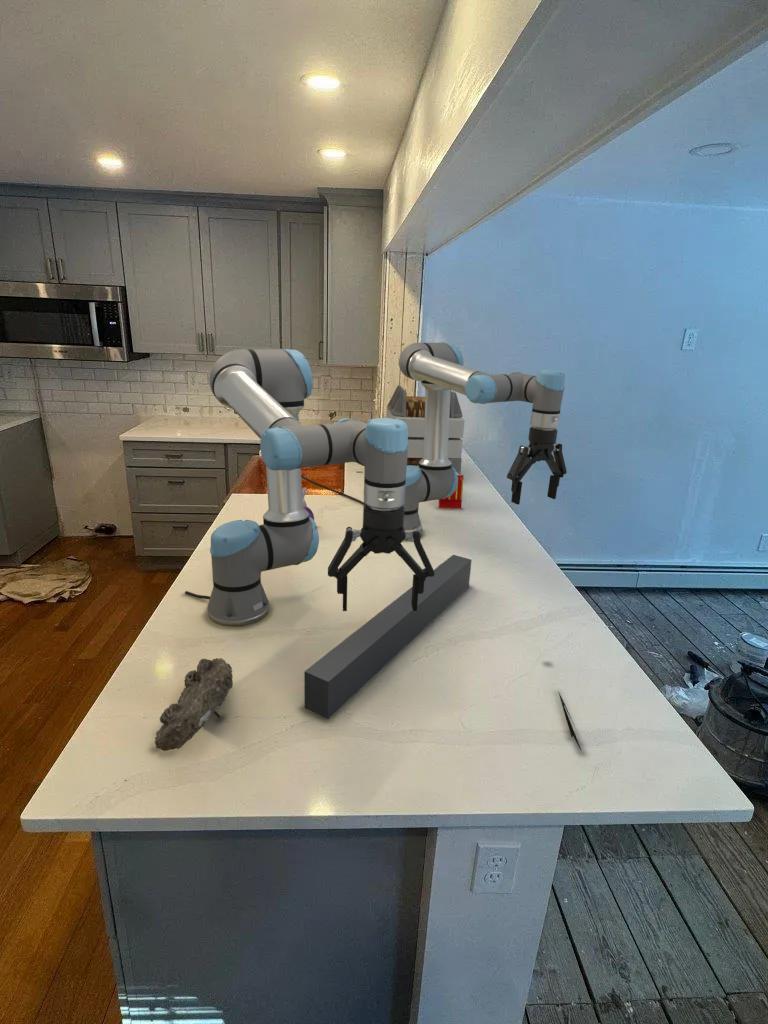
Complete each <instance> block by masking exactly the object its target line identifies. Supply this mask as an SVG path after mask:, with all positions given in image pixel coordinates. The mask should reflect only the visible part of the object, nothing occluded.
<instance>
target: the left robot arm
mask: <svg viewBox="0 0 768 1024" xmlns="http://www.w3.org/2000/svg"><path fill="white" fill-rule="evenodd" d="M211 367H212V368H211V370H210V371H209V377H208V380H209V381H208V382H209V387H210V390H211V392H212V395H213V396H214V397H215V398H216V400H217V402H219V403H220V404H221V405H222V406H223V407H226V408H229V409H232V410H233V412H235V413H236V414H237V415H238V417H239V418H240V419H241V420H242V421H243V422H244V423H245V424H246V425H247V426H248V428H250V429H251V431H252V432H253V433H254V434H255V435H256V437H258V438H259V440H260V441H259V442H260V443H259V447H260V453H261V458H262V459H263V463H264V465H265V470H266V484H267V485H266V487H267V489H266V490H267V503H268V505H267V506H268V509H267V510H266V511H265V512H264V514H263V516H262V520H263V523H262V524H258V522H256V521H254V520H253V519H252V520H251V519H245V520H243V519H236V520H231V521H228V522H225V523H223V524H221V525H219V526H217V527H216V528H215V530H213V531H212V533H211V535H210V548H209V552H210V556H211V557H210V558H211V571H212V584H213V586H212V590H211V593H210V595H202V594H197V593H193V592H191V591H187V590H185V591H184V594H185V595H187V596H189V597H193V598H197V599H203V600H208V603H207V608H206V609H207V612H206V613H207V617H208V619H209V620H210V621H211V622H212V623H214V624H216V625H219V626H222V627H230V628H237V627H239V628H240V627H246V626H251V625H253V624H256V623H258V622H260V621H262V620H263V619H265V618H266V617H267V615H268V614H269V613H270V612H269V611H270V602H269V599H268V596H267V594H266V591H265V589H264V587H263V584H262V572H267V571H271V570H276V569H280V568H285V567H290V566H298V565H301V564H302V563H306V562H309V561H312V559H313V558H314V557H315V556H316V554H317V552H318V549H319V544H320V535H319V529H318V526H317V522H316V521H315V519H314V520H313V519H312V518H310V517H309V513H308V512H307V511H306V510H305V509H304V508H303V502H302V489H303V483H302V481H303V480H302V477H301V475H302V469H305V468H306V469H307V468H313V467H321V466H331V465H338V464H348V463H355V464H358V465H360V466H363V467H364V470H363V471H364V473H363V474H364V475H363V476H364V477H363V502H364V503H365V505H363V508H362V509H363V513H362V527H361V529H353V528H352V527H351V526H347V527H346V528H345V532H344V533H345V534H344V538H343V540H342V541H341V543H340V545H339V547H338V548H337V551H336V553H335V554H334V556H333V557H332V559H331V562H330V563H329V565H328V566H327V576H328V577H329V578H332V577H333V578H335V579H336V593H337V594H338V595H342V612H347V611H348V575H349V573H350V572H351V571H352V570H354V568H355V567H356V566H357V565H358V564H359V563H360V562H361V561H362V560H363V559H364V557H367V556H368V555H369V554H370V553H371V552H372V553H373V554H374V555H375V554H382V553H383V554H387V555H389V554H391V553H393V552H395V553H396V554H397V556H398V557H400V558H401V559H402V560H403V562H404V563H405V564H406V565H407V566H408V568H409V569H410V570H411V571H412V572H413V573H414V574H413V575H412V586H411V587H412V602H411V605H412V608H413V611H417V603H418V594H423V592H424V581H425V580H426V577H429V576H430V577H433V576H434V574H435V573H434V568H433V566H432V565H433V564H432V563H431V561H430V559H429V557H428V555H427V553H426V550H425V549H424V546H423V544H422V542H421V536H420V533H419V530H418V528H417V527H414V528H413V529H412V530H404V529H403V524H404V507H403V506H402V505H404V503H405V483H406V470H407V456H408V447H409V442H408V426H407V424H406V423H405V422H404V421H402V420H398V419H392V418H386V417H376V418H375V417H374V418H371V419H369V420H368V421H367V422H363V421H362V420H359V419H357V418H348V417H345V418H339V419H338V420H336V421H335V422H333V423H321V424H320V423H319V424H308V425H307V424H302V423H301V422H300V420H299V414H300V412H301V411H302V410H303V409H304V407H305V400H306V399H308V398H309V397H310V396H311V395H312V393H313V392H312V391H313V388H314V380H313V379H314V378H313V373H312V368H311V366H310V364H309V361H308V360H307V359H306V356H305V355H304V354H303V353H302V352H300V351H299V350H297V349H289V348H288V349H287V348H257V349H255V348H250V349H249V348H237V349H233V350H231V351H228V352H226V353H224V354H223V355H221V356H220V357H219V358H218V359H217V360H216V361H215V362H214V363H213V366H211ZM405 537H408V538H409V540H408V541H409V542H411V543H412V542H413V545H414V547H415V550H416V551H417V554H418V556H419V558H420V560H421V562H422V564H423V567H424V568H422V567H421V566H420V565H419V564H418V563H417V561H416V560H415V558H413V556H412V555H411V554H410V553H409V551H408V550H406V548H405V547H404V546H403V544H402V542H403V541H405V540H404V539H405ZM358 538H360V539H361V540H362V543H361V544H360V545H359V547H358V548H357V549H356V550H355V551H354V552H353V553H352V554H351V556H349V557H348V558H347V560H345V561H344V563H343V564H342V562H343V559H344V558H345V556H346V555H347V553H348V551H349V549H350V547H351V546H352V543H353V542H355V541H356V540H357V539H358ZM340 565H341V566H340Z"/></svg>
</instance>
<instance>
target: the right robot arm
mask: <svg viewBox="0 0 768 1024" xmlns="http://www.w3.org/2000/svg"><path fill="white" fill-rule="evenodd" d="M464 363H465V362H464V356H463V354H462V351H461V350H460V348H459V347H458V346H457V345H456V344H454V343H451V342H443V341H442V342H420V341H419V342H413V343H410V344H408V345H407V346H406V347H404V348H403V349H402V351H401V352H400V354H399V357H398V366H399V370H400V371H401V373H402V375H403V376H405V377H406V378H407V379H411V380H413V381H416V382H420V384H421V385H422V386H423V388H424V389H425V393H424V397H425V421H424V455H423V458H422V459H421V460H420V461H419V466H413V465H408V466H407V470H406V483H405V503H404V505H402V506H403V507H404V524H403V529H404V530H412V529H413V528H414V527H417V528H418V530H419V533H420V537H421V536H422V535H423V525H422V524H421V518H420V515H419V507H420V506H419V505H420V503H426V502H430V501H437V500H438V501H439V499H443V498H446V497H449V496H451V495H452V494H453V493H454V492H455V490H456V488H457V484H458V476H457V474H456V470H455V469H454V468H453V467H452V462H451V461H450V460H449V459H448V439H449V415H450V392H451V391H452V392H453V391H454V392H455V393H458V394H461V395H464V396H466V398H467V399H468V400H469V402H471V403H473V404H481V405H486V404H492V403H506V402H523V403H530V404H532V408H531V416H530V423H529V425H530V427H529V431H528V441H529V444H528V446H527V445H522V444H520V445H519V448H518V453H517V454H516V457H515V458H514V460H513V462H512V464H511V466H510V469H509V470H508V472H507V474H506V479H508V480H511V488H510V490H511V500H510V502H511V503H513V504H515V505H518V506H519V505H520V503H521V496H522V487H523V481H522V479H523V478H524V477H525V475H526V474H527V473H528V471H529V470H530V469H531V467H532V466H533V465H534V464H536V463H537V462H542V461H543V462H545V463H546V464H547V466H548V468H549V470H550V472H551V473H552V474H550V475H549V481H548V489H547V495H546V496H547V498H549V499H552V500H556V499H557V493H558V487H559V486H560V480H561V479H562V478H564V475H566V474H567V472H568V471H567V466H566V462H565V459H564V458H565V457H564V454H563V444H562V443H559V442H557V436H558V429H557V428H558V427H559V423H560V416H561V408H562V402H563V397H564V392H565V382H566V373H565V372H563V371H562V370H557V369H546V368H545V369H544V368H543V369H539V370H538V371H537V372H536V375H533V374H528V373H522V372H520V371H519V372H518V371H517V372H515V371H513V372H512V371H509V372H507V373H505V374H504V373H501V374H500V373H499V374H491V373H487V372H484V371H481V370H478V369H475V368H472V367H469V366H466V365H465V364H464ZM301 479H303V480H305V481H307V482H308V483H311V484H313V485H316V486H318V487H320V488H323V489H325V490H328V491H331V492H332V493H335V494H339V495H341V496H343V497H346V498H348V499H351V500H353V501H355V502H357V503H359V504H361V505H363V506H364V505H365V503H364V501H362V500H360V499H358V498H356V497H354V496H351V495H349V494H346V493H344V492H341V491H338V490H336V489H333V488H330V487H328V486H325V485H322V484H321V483H318V482H316V481H313V480H312V479H310V478H307V477H305V476H304V475H302V474H301ZM403 541H410V540H409V538H408V537H405V539H404V540H403Z"/></svg>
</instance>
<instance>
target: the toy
mask: <svg viewBox="0 0 768 1024" xmlns="http://www.w3.org/2000/svg"><path fill="white" fill-rule="evenodd" d="M456 474H457V476H458V484H457V488H456V490H455V492H454V493H453V494H452V495H451V496H449V497H446V498H443V499H439V500H438V509H459V510H460V509H462V507H463V493H464V492H463V491H464V480H465V479H464V475H462V474H460V475H459V474H458V473H457V472H456Z"/></svg>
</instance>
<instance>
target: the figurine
mask: <svg viewBox="0 0 768 1024" xmlns="http://www.w3.org/2000/svg"><path fill="white" fill-rule="evenodd" d="M306 493H307V487H306V486H304V487H302V502H303V508H304V509H305V510H306V511H307V512H308V513H309V517H310V518H312V519H313V520H314V521H315V515H314V512H313V511H312V509H311V508H310V507H308V506H307V502H306V500H305V496H306Z"/></svg>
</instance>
